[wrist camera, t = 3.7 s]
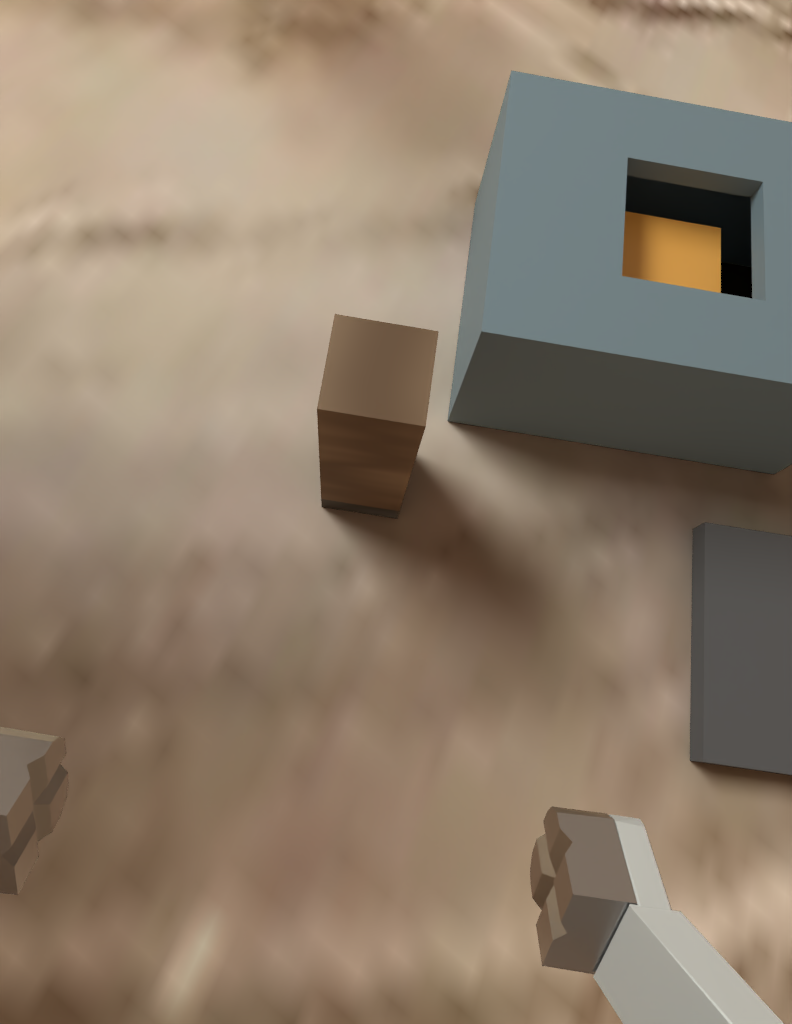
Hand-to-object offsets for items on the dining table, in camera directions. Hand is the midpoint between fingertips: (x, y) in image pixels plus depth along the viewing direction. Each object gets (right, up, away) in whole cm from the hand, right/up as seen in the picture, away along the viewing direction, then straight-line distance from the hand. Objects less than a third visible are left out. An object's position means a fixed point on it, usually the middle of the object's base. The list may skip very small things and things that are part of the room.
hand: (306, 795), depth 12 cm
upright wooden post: (0, +6, +17) cm, 18 cm away
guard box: (+11, +13, +20) cm, 26 cm away
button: (+11, +13, +17) cm, 25 cm away
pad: (+17, -1, +16) cm, 24 cm away
